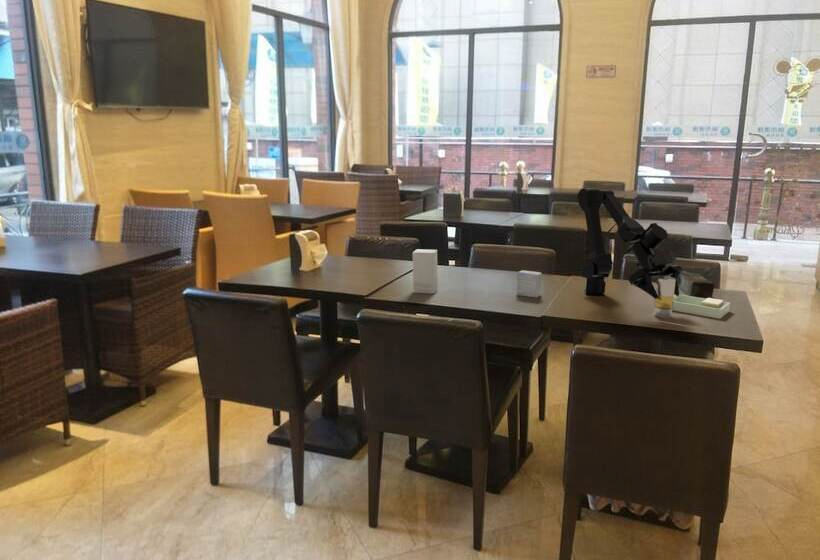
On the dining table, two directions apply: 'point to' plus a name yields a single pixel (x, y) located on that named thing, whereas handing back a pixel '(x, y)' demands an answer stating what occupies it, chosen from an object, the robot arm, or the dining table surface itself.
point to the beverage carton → (695, 285)
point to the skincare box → (425, 271)
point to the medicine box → (529, 283)
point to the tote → (698, 307)
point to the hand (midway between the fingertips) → (667, 296)
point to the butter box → (713, 303)
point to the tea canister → (664, 297)
